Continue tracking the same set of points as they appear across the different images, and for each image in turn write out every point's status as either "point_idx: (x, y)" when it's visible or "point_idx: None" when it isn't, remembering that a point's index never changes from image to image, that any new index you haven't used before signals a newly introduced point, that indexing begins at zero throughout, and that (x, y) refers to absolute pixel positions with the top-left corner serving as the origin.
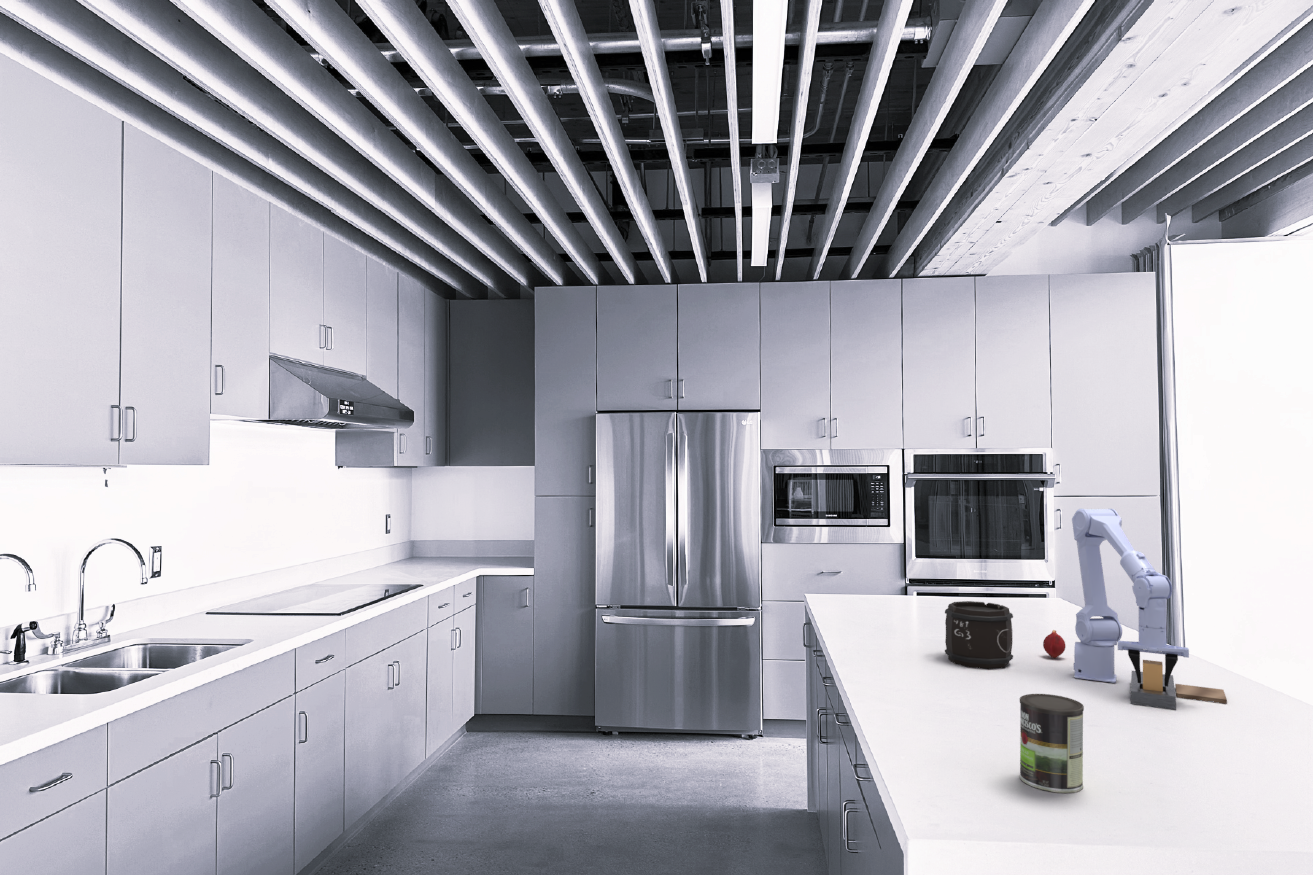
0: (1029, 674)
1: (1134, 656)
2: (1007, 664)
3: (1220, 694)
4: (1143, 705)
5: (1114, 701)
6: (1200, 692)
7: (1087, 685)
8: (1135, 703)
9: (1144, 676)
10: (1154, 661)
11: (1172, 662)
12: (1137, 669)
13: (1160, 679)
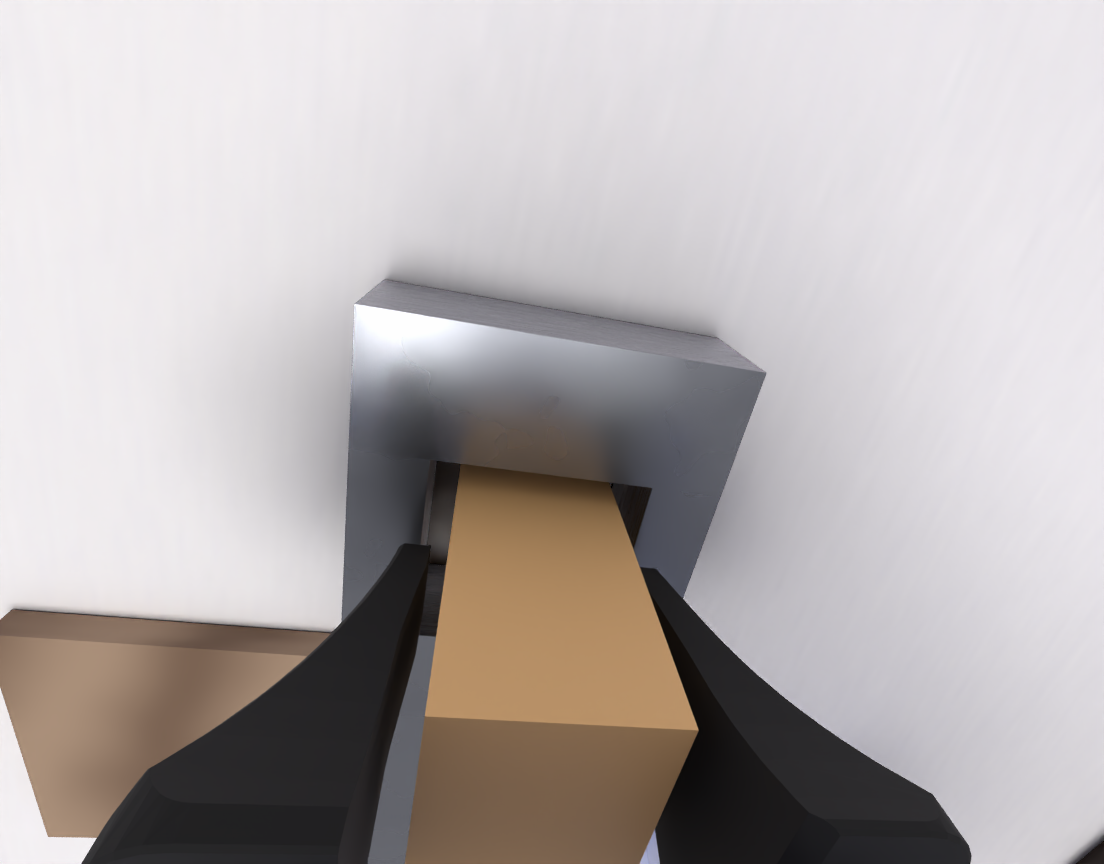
0: (1073, 757)
1: (883, 807)
2: (1100, 854)
3: (49, 736)
4: (628, 322)
5: (822, 362)
6: (181, 731)
7: (843, 680)
8: (687, 333)
9: (630, 585)
10: (503, 856)
11: (235, 757)
12: (717, 656)
13: (470, 559)
